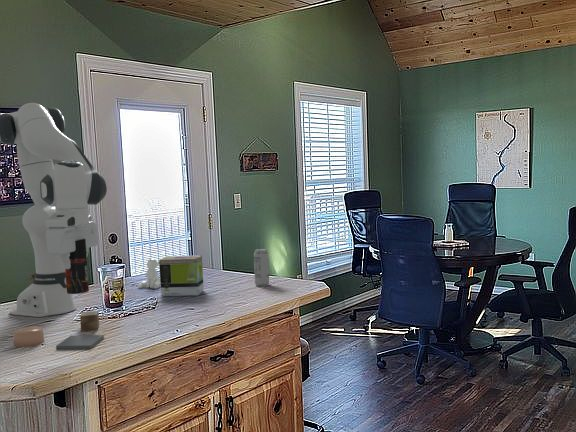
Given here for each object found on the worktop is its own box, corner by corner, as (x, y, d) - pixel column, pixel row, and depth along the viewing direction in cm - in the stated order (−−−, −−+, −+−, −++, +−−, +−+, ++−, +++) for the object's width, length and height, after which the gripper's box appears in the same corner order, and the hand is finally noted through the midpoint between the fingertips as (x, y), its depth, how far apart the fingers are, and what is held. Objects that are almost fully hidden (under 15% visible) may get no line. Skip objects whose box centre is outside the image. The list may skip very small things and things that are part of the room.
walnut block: (81, 331, 180) (80, 316, 180) (83, 327, 185) (82, 312, 185) (97, 330, 181) (96, 314, 181) (99, 326, 186) (98, 310, 186)
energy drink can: (271, 285, 241) (270, 249, 239) (257, 287, 238) (256, 251, 237) (266, 283, 246) (265, 248, 245) (252, 284, 244) (251, 249, 243)
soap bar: (40, 332, 167) (41, 346, 167) (45, 325, 174) (45, 338, 175) (10, 335, 165) (11, 349, 165) (16, 327, 172) (17, 341, 173)
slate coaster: (56, 349, 163) (56, 345, 163) (71, 338, 173) (70, 335, 173) (91, 348, 162) (91, 345, 162) (104, 338, 172) (103, 334, 172)
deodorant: (88, 292, 164) (84, 240, 163) (66, 294, 163) (62, 241, 161) (89, 288, 170) (85, 238, 169) (67, 290, 168) (64, 239, 167)
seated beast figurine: (136, 288, 244) (135, 260, 242) (146, 284, 252) (145, 257, 251) (157, 289, 241) (156, 260, 240) (166, 284, 250) (165, 257, 249)
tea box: (204, 290, 235) (202, 254, 234) (197, 296, 225) (196, 258, 224) (168, 291, 237) (166, 255, 235) (160, 296, 227) (158, 259, 225)
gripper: (83, 214, 175) (85, 260, 176) (40, 221, 155) (44, 272, 156) (102, 214, 174) (104, 260, 175) (61, 221, 154) (65, 273, 155)
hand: (75, 266), depth 166 cm, fingers closed on deodorant, 6 cm apart
